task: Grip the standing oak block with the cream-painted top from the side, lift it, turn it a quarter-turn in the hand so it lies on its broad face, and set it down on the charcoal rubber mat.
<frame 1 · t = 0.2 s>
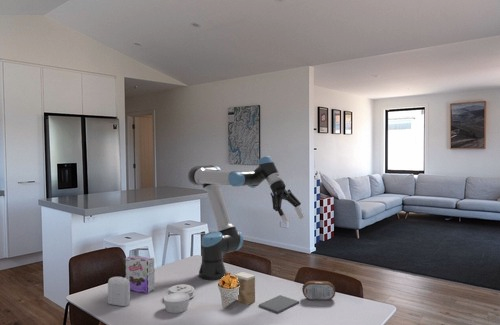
hand: (294, 219, 183), 35 cm above the table, tool tilted 35°, fingers open, 13 cm apart
charcoal mat: (279, 304, 165), on the table
oak block: (245, 300, 169), on the table
candy box: (140, 290, 185), on the table
ramekin: (176, 309, 161), on the table
tin: (318, 300, 170), on the table
lid: (181, 297, 175), on the table
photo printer: (119, 304, 167), on the table
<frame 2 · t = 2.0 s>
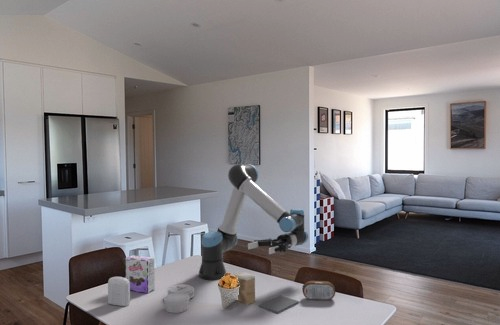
hand: (258, 248, 176), 22 cm above the table, tool horizontal, fingers open, 13 cm apart
nothing on the table moved.
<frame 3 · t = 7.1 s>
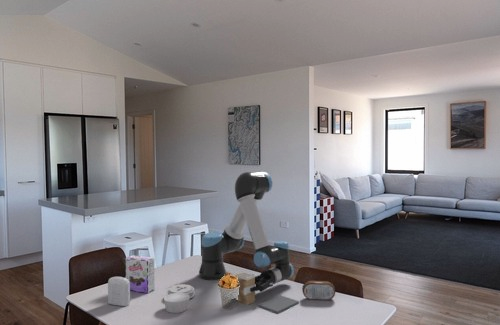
hand: (237, 289, 166), 7 cm above the table, tool horizontal, fingers closed on oak block, 8 cm apart
oak block: (245, 300, 169), on the table, touching gripper
everything else where it was.
when the fingers open (2 cm above the table, at t = 14.5 s): oak block drops 3 cm, resting on charcoal mat.
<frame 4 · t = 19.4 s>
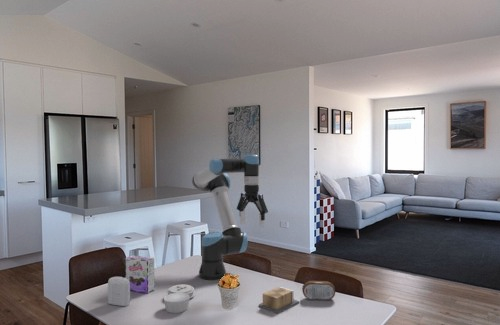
hand: (251, 225, 192), 31 cm above the table, tool pointing down, fingers open, 13 cm apart
oak block: (269, 301, 160), point 3 cm above the table, tilted 90°, touching charcoal mat
everything else where it was.
at the end: oak block tilted 90°; oak block touching charcoal mat; the gripper is holding nothing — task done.
